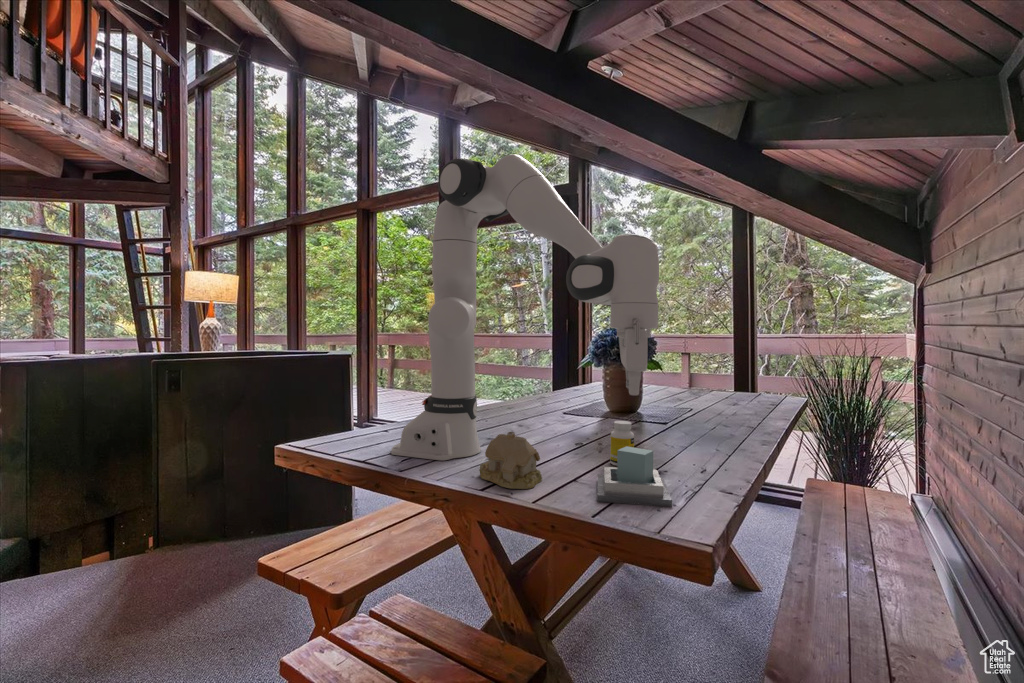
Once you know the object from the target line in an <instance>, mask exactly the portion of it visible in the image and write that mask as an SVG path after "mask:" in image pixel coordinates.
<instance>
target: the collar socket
mask: <svg viewBox="0 0 1024 683" xmlns="http://www.w3.org/2000/svg"><path fill="white" fill-rule="evenodd" d="M603 468H604V469H603V472H604V473H603V474H600V473H599V474H597V493H596V494H597V499H596V500H597V501H596V502H597V503H598V502H599V503H610V504H611V503H612V504H626V505H641V506H642V505H643V506H653V507H654V506H655V507H656V506H658V507H671V508H672V507H673V499H672V496H671V494H670V492H669V490H668V488H667V485H666V482H665V480H664V478H663V477H660V474H659V471H658V470H657V469H653V483H638V482H622V481H617V466H616V467H615V466H603Z"/></svg>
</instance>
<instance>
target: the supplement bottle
mask: <svg viewBox="0 0 1024 683" xmlns="http://www.w3.org/2000/svg"><path fill="white" fill-rule="evenodd" d="M613 428H614V430H613V431H612V430H611V432H610V451H609V454H610V455H609V463H610V464H612V465H613V466H614V467H615V466H616V467H617V451H618V450H619V449H621V448H624V447H626V446H627V447H634V448H635V434H634V432H633V431H631V429H632V422H631V421H626V420H616V421H614V422H613Z"/></svg>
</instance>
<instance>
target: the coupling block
mask: <svg viewBox="0 0 1024 683" xmlns="http://www.w3.org/2000/svg"><path fill="white" fill-rule="evenodd" d="M616 467H617V481H622V482H638V483H653V470H654V450H651V449H644V448H638V447H635V446H634V447H627V446H626V447H624V448H621V449H619V450H618V451H617V466H616Z"/></svg>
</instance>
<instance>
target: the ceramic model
mask: <svg viewBox="0 0 1024 683" xmlns="http://www.w3.org/2000/svg"><path fill="white" fill-rule="evenodd" d="M484 453H485V457H486V458H488V459H487V460H488V461H485V462H484V463H481V464H480V466H479V469H478V472H479V474H480V475H479V476H480V477H479V478H481V479H482V480H485V481H489V482H492V483H494V484H496V485H498V486H500V487H502V488H506V489H512V490H513V489H514V490H515V489H517V490H520V489H521V490H527V489H533V488H534V487H535V486H536V485H538V484H539V483H540V482H542V479H543V477H542V474H541V473H542V472H541V470H539V469H537V462H539V461H541V458H540V455H539V452H538V451H537V449H536V448H535V447H534V446H533V445H532V444H530V442H529V441H528V440H527V438H526V437H522V436H519V435H517V436H516V433H515V432H514V431H508V432H507V434H504V433H500V434H497V436H496V437H495V438H493V439H492V440H490V442H489V444H488V445H487V448H486V449H485V452H484Z"/></svg>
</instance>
